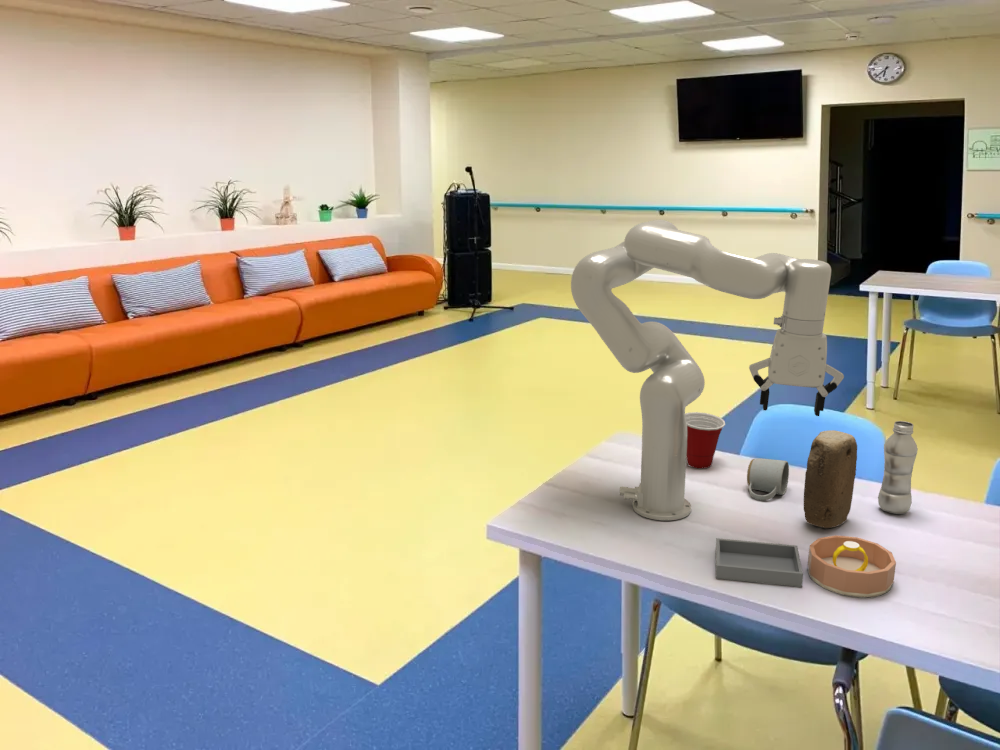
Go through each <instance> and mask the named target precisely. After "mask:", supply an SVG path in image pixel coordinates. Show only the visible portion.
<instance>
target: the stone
mask: <svg viewBox="0 0 1000 750" xmlns="http://www.w3.org/2000/svg"><path fill="white" fill-rule="evenodd" d="M857 461H858V444H857V439H856V438H855V437H854V435H852V434H850V433H846V432H843V431H838V430H829V429H828V430H823V431H820V432H819V433H818V434H817V436H816V437H814V439H813V440H812V443H811V445H810V450H809V454H808V457H807V462H806V471H805V475H804V476H805V477H804V489H803V512H804V518H805V519H804V520H805V521H806V523H808V524H811V525H813V526H816V527H818V528H819V527H820V528H822V529H831V528H836V527H838V526H841V525H842V524H844V523H845V522H847V519H848V516H849V514H850V512H851V508H852V501H853V494H854V488H855V487H854V486H855V479H856V473H857Z"/></svg>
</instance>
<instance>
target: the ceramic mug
mask: <svg viewBox="0 0 1000 750" xmlns="http://www.w3.org/2000/svg"><path fill="white" fill-rule="evenodd" d="M789 475H790V467H789V462H788V461H787V460H781V459H770V458H760V457H759V458H753V459H751V460H750V462H749V464H748V467H747V472H746V483H747V485H748V489H749V490H748V491H749V495H750V496H751V497H752V498H753V499H754V500H757V501H761V502H763V501H764V502H765V501H769V500H771V499H773V498H774V497H775V496H776V495H781V496H783V495H785V493H786V491H787V487H788V483H789V478H790V477H789ZM752 490H756V491H761V492H766V493H767V494H764V495H761V494H757V493H755V492H753V491H752Z"/></svg>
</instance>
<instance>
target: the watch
mask: <svg viewBox="0 0 1000 750" xmlns="http://www.w3.org/2000/svg"><path fill="white" fill-rule="evenodd" d="M844 550H848V551H858V550H859V551H860V552H862V553H863V554H864V563H863V564H862V566H861V567H860V568H858V569H857V570H854V571H865V569H866V567H867V566H868V557H867V555H866V553H865V551H864V550H863V548H861V547H860V545H859V544H858V543H856V542H853V541H846V542H844V544H843V545H842V546H840V547H839V548H837V550H836V551H835V552H834V553H833V558H832V561H833V563H834V566H837V565H836V559H837V556H838V555H839V554H840V553H841V552H842V551H844ZM837 567H838V566H837Z"/></svg>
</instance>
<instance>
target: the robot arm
mask: <svg viewBox="0 0 1000 750" xmlns="http://www.w3.org/2000/svg"><path fill="white" fill-rule="evenodd" d="M653 269H657V270H660V271H661V270H662V271H666V272H668V273H669V272H670V273H674V274H677V275H680V276H684V277H688V278H691V279H694V280H695V281H696V282H698V283H700V284H702V285H704V286H706V287H708V288H711V289H713V290H715V291H719V292H723V293H726V294H730V295H733V296H735V297H741V298H744V299H751V300H762V299H765V298H768V297H770V296H771V295H773V294H776V293H777V294H778V293H782V292H783V293H785V294H784V301H783V309H782V310H783V311H782V314H781V315H780V317H779V316H778V317H776V316H775V317H774V318H773V325H777V326H779V327H780V328H779V329H777V330H776V332H775V335H774V339H773V342H772V347H771V351H770V356H769V357H768V358H765V359H762V360H760V361H757V362H754V363H752V364H749V366H748V369H749V372H750V375H751V377H752V379H753V381H754V382H755V383H756V385H757V386H758V387H759V388H760V400H759V405H762V411H768V407H769V406H768V405H769V398H770V387H772V386H773V385H774V384H775V385H781V386H792V387H800V388H801V387H802V388H813V389H815V388H816V390H817V392H816V395H815V400H814V401H815V402H814V406H813V407H814V408H813V411H814V415H815V416H816V417H820V413H821V412H823V411H824V409H825V402H826V397H828V395H829V394H830V393H832V392H834V391H835V390H836V389H837V387H838V386H839V385H840V384H841V383H842V381H843V380H844V378H845V375H844V373H842V372H841V371H840V370H838V369H836V368H835V367H833V366H831V365H829V364H828V363H827V356H828V339H827V335H826V334H825V333H824V332H823V331H824V325H825V317H826V311H827V304H828V296H829V291H830V283H831V276H832V267H831V265H830V264H829V263H828V262H825V261H823V260H819V259H809V258H798V257H794V256H793V257H792V256H789V255H785V254H781V253H777V252H771V253H770V252H769V253H766V254H763V255H760V256H757V257H754V258H752V257H748V256H747V257H746V256H743V255H738V254H735V253H730V252H727V251H725V250H721V249H719V248H718V247H715V246H714V245H713V244H712V243H711V241H710V239H709V237H707V236H705V235H702V234H697V233H693V232H689V231H685V230H681V229H678V227H677V226H676V225H675V224H674V223H672V222H670V221H669V220H665V219H653V220H649V221H644V222H640V223H638V224H636V225H634V226H633V227H632V228H630V229H629V231H628V232H627V233H626V234H625V237H624V240H623V241H622V242H621V243H619V244H617V245H616V246H614V247H610V248H606V249H602V250H598V251H594V252H592V253H589V254H587V255H586V256H584V257H583V258H581V259H580V260H579V261H578V262H577V263H576V265H575V267H574V269H573V271H572V274H571V280H570V289H571V290H570V291H571V295H572V296H571V297H572V299H573V301H574V303H575V305H576V307H577V308H578V310H579V312H581V314H582V315H583V316H584V318H585V319H586V320H587V321H588V322H589V324H590V325H591V327H592V328H594V330H595V331H596V333H597V334H598V335H599V337H600V338H601V340H602V341H603V342H604V344H605V346H606V347H607V348H608V349H609V351H610V353H612V355H613V356H614V358H615V359H616V360H617V362H618V363H619V364H620V366H621V367H622V368H623V369H624V370H626V371H627V372H630V373H633V374H638V373H642V372H645V371H647V370H651V371H652V373H651V374H650V375H649V376H648V377H647V378H646V379H645V381H644V382H643V384H642V386H641V387H640V390H639V391H640V392H639V404H640V405H639V406H640V412H641V423H642V426H641V429H642V430H641V458H640V459H641V460H640V462H641V463H640V464H641V465H640V482H639V485H638V486H634V487H629V486H628V487H627V486H620V487H619V496H623V500H632V509H633V510H634V512H635V513H636V514H637V515H639V516H641V517H643V518H646V519H650V520H655V521H676V520H681V519H684V518H685V517H688V516H689V515H690V514H691V512H692V511H691V510H692V506H691V505H692V504H691V503H690V502H689V500H688V499H686V498H685V495H686V493H685V491H686V489H685V488H686V473H687V472H686V471H687V470H686V469H687V422H686V417H685V414H686V408H687V407H688V406H689V405H690V404H691V403H693V402H695V401H696V400H697V399H698V398H699V397H700V396H701V395H702V393H703V392H704V389H705V384H706V383H705V382H706V381H705V376H704V374H703V372H702V369H701V367H700V366H699V365H698V363H697V361H695V359H694V358H693V357H692V355H691V354H690V352H689V351H688V350H687V349H686V347H685V346H684V345H683V343H682V342H681V341H680V339H679V338H678V337H677V335H676V334H675V333H674V332H673V331H672V330H671V329H670V328H669V327H667V326H666V325H665V324H663V323H661V322H658V321H645V322H643V323H642V322H640V321H639V320H638V318H637V317H636V316H635V315H634V314H633V312H632V310H631V309H630V307H628V305H627V304H626V303H624V301H623V300H621V299H620V298H618V296H616V295H615V294H614V293H613V291H612V289H615V288H618V287H621V286H624V285H626V284H628V283H631V282H633V281H635V280H636V279H637V278H639V277H641V276H643V275H645V274H647V273H648V272H649V271H651V270H653ZM764 368H768V371H767V372H768V373H767V376H765V378H763V377H762V376H761V375H760V374H759V370H763V369H764ZM826 373H827V374H828V375H830V376H832V377H833V378H832V380H830V382H828V383H827V384H824V382H825V378H826Z"/></svg>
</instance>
